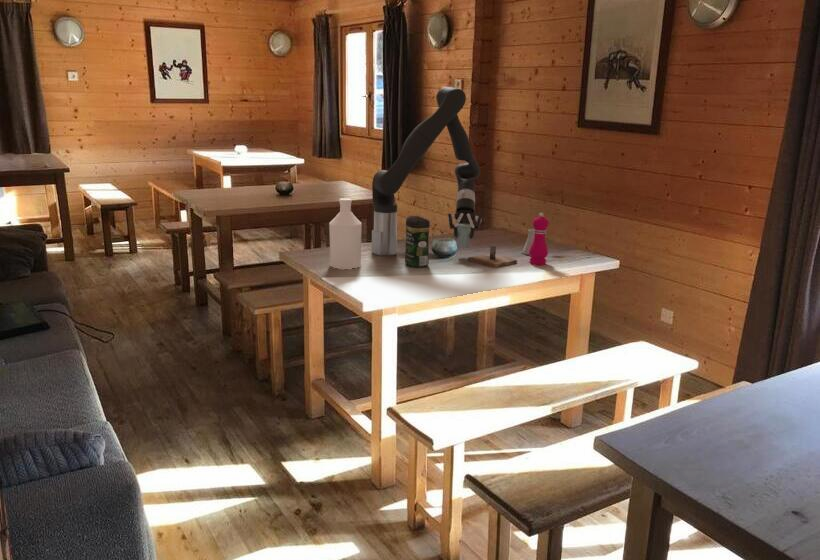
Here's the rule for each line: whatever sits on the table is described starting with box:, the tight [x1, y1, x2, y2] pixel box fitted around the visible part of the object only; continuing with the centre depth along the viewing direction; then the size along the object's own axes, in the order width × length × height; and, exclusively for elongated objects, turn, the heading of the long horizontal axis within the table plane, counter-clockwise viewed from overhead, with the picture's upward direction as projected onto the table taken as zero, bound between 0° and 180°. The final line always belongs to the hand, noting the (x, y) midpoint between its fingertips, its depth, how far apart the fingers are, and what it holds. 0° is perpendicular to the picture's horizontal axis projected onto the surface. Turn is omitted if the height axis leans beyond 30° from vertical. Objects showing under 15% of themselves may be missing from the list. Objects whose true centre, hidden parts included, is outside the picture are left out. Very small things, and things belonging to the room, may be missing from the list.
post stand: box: [467, 245, 518, 268], centre depth 264 cm, size 13×14×6 cm
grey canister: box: [456, 223, 471, 249], centre depth 269 cm, size 5×5×9 cm
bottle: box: [328, 197, 363, 270], centre depth 249 cm, size 12×12×25 cm
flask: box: [521, 228, 534, 256], centre depth 279 cm, size 7×7×10 cm
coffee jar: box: [404, 215, 431, 268], centre depth 254 cm, size 10×8×19 cm
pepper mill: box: [529, 212, 550, 266], centre depth 261 cm, size 7×7×20 cm
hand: (463, 237), depth 267 cm, fingers closed on grey canister, 5 cm apart
